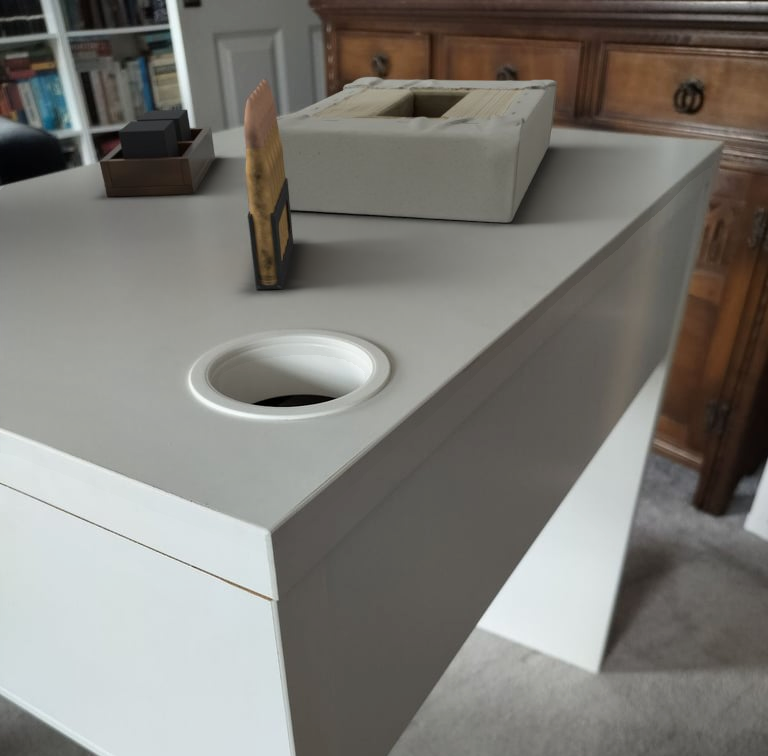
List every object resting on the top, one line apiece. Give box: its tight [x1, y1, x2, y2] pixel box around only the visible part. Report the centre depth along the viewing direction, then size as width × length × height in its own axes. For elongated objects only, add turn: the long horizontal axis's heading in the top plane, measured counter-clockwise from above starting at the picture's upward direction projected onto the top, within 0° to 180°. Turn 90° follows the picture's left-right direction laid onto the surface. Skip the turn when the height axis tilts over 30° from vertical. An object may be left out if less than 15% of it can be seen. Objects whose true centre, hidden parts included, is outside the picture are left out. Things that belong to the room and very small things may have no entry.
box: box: [277, 76, 558, 224], centre depth 79 cm, size 23×8×32 cm
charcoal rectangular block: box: [136, 109, 192, 142], centre depth 86 cm, size 4×6×5 cm
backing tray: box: [99, 126, 216, 198], centre depth 83 cm, size 9×16×3 cm, turn 3°
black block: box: [118, 120, 180, 159], centre depth 79 cm, size 4×6×5 cm
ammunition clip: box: [243, 78, 294, 291], centre depth 56 cm, size 11×2×12 cm, turn 1°
